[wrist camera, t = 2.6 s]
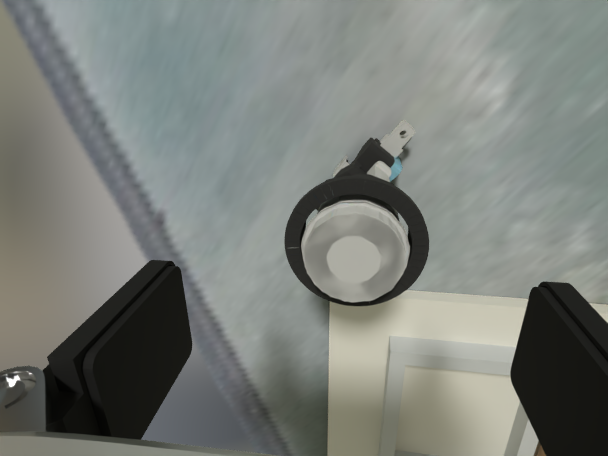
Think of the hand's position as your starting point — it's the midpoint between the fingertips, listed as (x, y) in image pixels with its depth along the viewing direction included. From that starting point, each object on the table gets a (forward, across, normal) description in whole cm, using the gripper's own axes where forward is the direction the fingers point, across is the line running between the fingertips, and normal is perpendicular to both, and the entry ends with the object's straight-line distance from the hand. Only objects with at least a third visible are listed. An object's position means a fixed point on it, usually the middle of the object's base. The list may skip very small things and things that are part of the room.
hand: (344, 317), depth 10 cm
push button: (+14, -1, -1) cm, 14 cm away
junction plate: (+14, -8, +16) cm, 23 cm away
